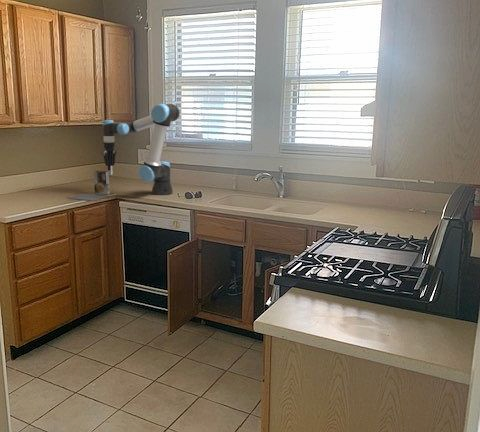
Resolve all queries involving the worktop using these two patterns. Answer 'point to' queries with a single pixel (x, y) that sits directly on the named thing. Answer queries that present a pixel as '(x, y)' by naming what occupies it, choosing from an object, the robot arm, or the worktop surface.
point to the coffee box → (101, 182)
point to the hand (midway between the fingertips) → (110, 174)
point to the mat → (88, 197)
